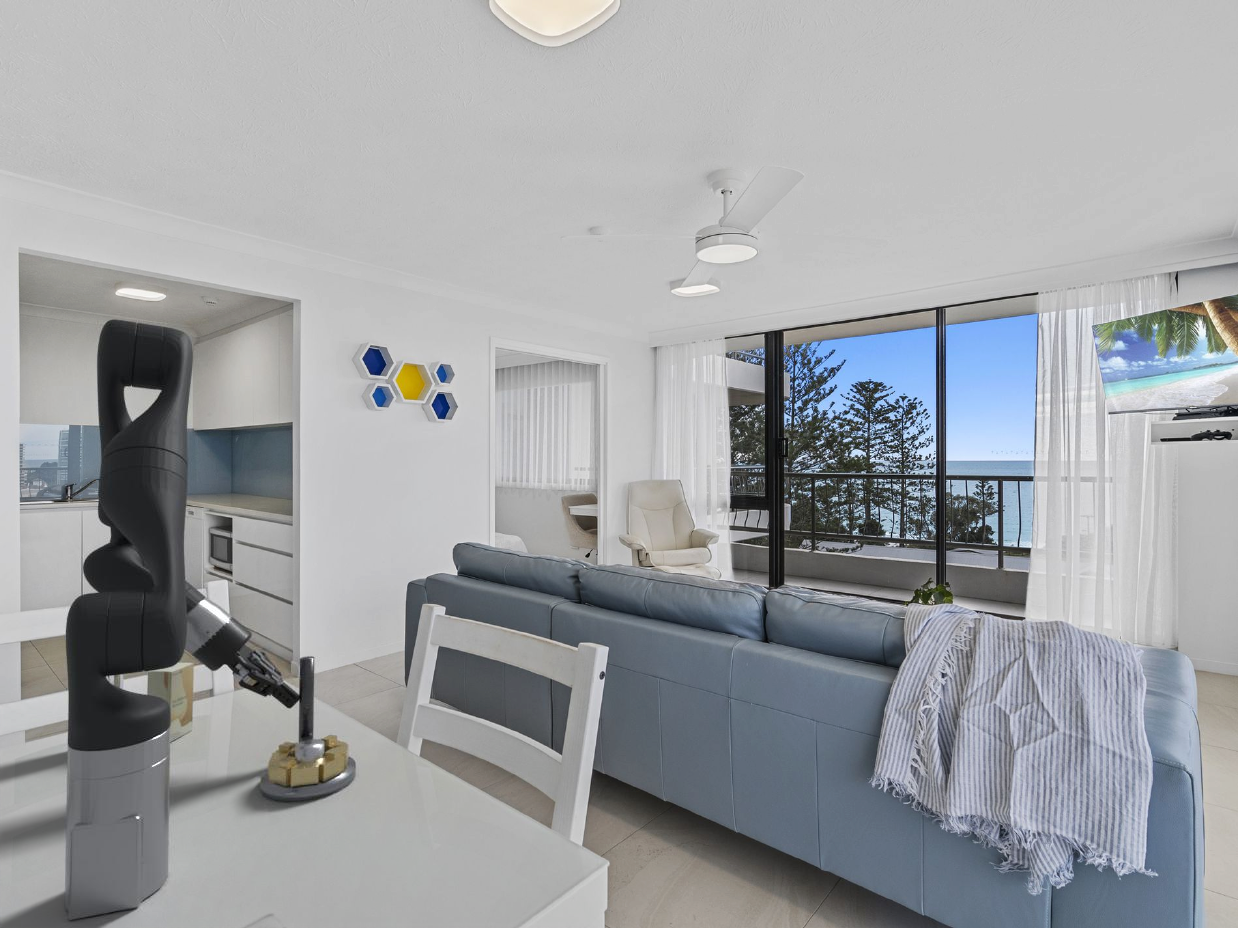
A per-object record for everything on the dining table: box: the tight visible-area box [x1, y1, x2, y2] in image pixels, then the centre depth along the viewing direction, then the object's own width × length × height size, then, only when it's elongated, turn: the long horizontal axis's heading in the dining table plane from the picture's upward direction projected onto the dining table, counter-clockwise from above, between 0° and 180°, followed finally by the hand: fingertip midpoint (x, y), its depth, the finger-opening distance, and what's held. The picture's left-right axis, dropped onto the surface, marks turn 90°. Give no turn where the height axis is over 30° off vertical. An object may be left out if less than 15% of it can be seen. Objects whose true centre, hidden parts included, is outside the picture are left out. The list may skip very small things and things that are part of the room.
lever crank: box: [267, 655, 349, 787], centre depth 103 cm, size 16×11×14 cm, turn 18°
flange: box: [260, 738, 357, 804], centre depth 100 cm, size 13×13×6 cm
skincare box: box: [146, 662, 195, 743], centre depth 117 cm, size 6×4×12 cm
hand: (295, 702), depth 109 cm, fingers closed
